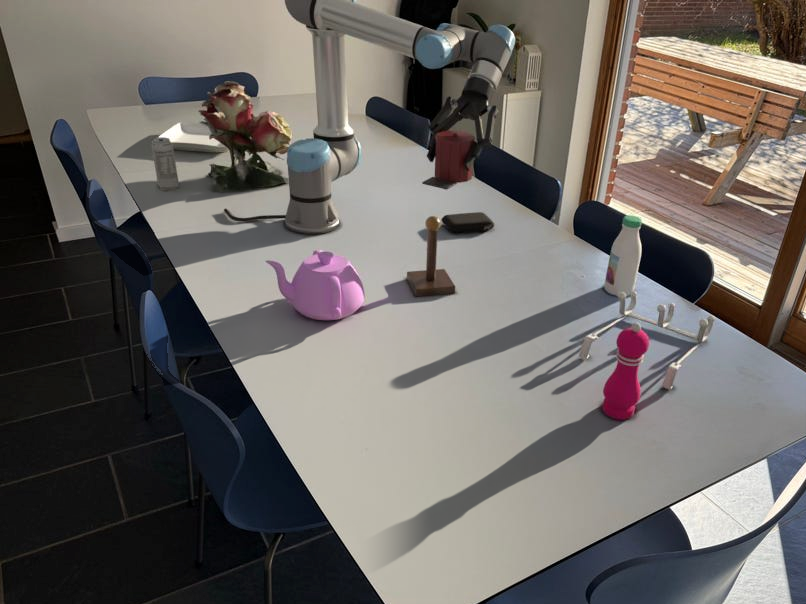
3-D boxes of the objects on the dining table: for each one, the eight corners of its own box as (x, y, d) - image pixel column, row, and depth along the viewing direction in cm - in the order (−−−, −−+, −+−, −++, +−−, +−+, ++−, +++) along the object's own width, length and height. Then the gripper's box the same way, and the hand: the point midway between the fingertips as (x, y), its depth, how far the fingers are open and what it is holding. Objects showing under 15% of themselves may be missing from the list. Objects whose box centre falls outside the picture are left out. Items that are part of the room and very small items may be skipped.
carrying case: (451, 236, 210) (497, 232, 215) (452, 227, 209) (498, 223, 214) (439, 223, 218) (483, 219, 224) (439, 213, 217) (484, 210, 222)
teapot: (262, 293, 173) (257, 240, 166) (351, 282, 181) (350, 231, 174) (279, 339, 157) (274, 282, 149) (376, 325, 165) (376, 270, 157)
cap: (445, 167, 185) (447, 125, 180) (478, 175, 182) (481, 132, 176) (417, 182, 174) (418, 138, 169) (451, 191, 171) (454, 146, 165)
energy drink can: (179, 183, 230) (171, 136, 222) (179, 190, 226) (171, 142, 217) (158, 184, 228) (150, 136, 220) (158, 191, 224) (149, 142, 216)
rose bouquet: (303, 182, 239) (297, 88, 223) (215, 195, 224) (201, 95, 208) (275, 160, 256) (267, 71, 240) (190, 170, 242) (177, 76, 226)
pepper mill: (596, 399, 146) (613, 313, 135) (630, 399, 147) (650, 314, 136) (604, 421, 140) (622, 332, 129) (640, 421, 141) (661, 333, 130)
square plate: (230, 157, 256) (229, 146, 253) (152, 151, 255) (151, 140, 253) (252, 136, 278) (251, 126, 276) (180, 130, 278) (179, 120, 275)
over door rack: (712, 338, 171) (722, 302, 166) (671, 394, 149) (682, 355, 144) (627, 310, 180) (635, 275, 174) (578, 359, 158) (584, 321, 153)
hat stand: (415, 296, 178) (417, 225, 168) (406, 278, 186) (408, 209, 176) (454, 293, 181) (459, 223, 171) (444, 275, 188) (447, 208, 178)
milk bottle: (635, 287, 191) (650, 216, 180) (630, 299, 185) (646, 226, 174) (606, 281, 193) (620, 210, 182) (601, 293, 187) (614, 220, 176)
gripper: (525, 101, 179) (492, 180, 175) (446, 86, 186) (413, 162, 183) (518, 82, 172) (484, 164, 168) (437, 68, 179) (403, 146, 176)
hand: (447, 163), depth 175 cm, fingers closed on cap, 9 cm apart
